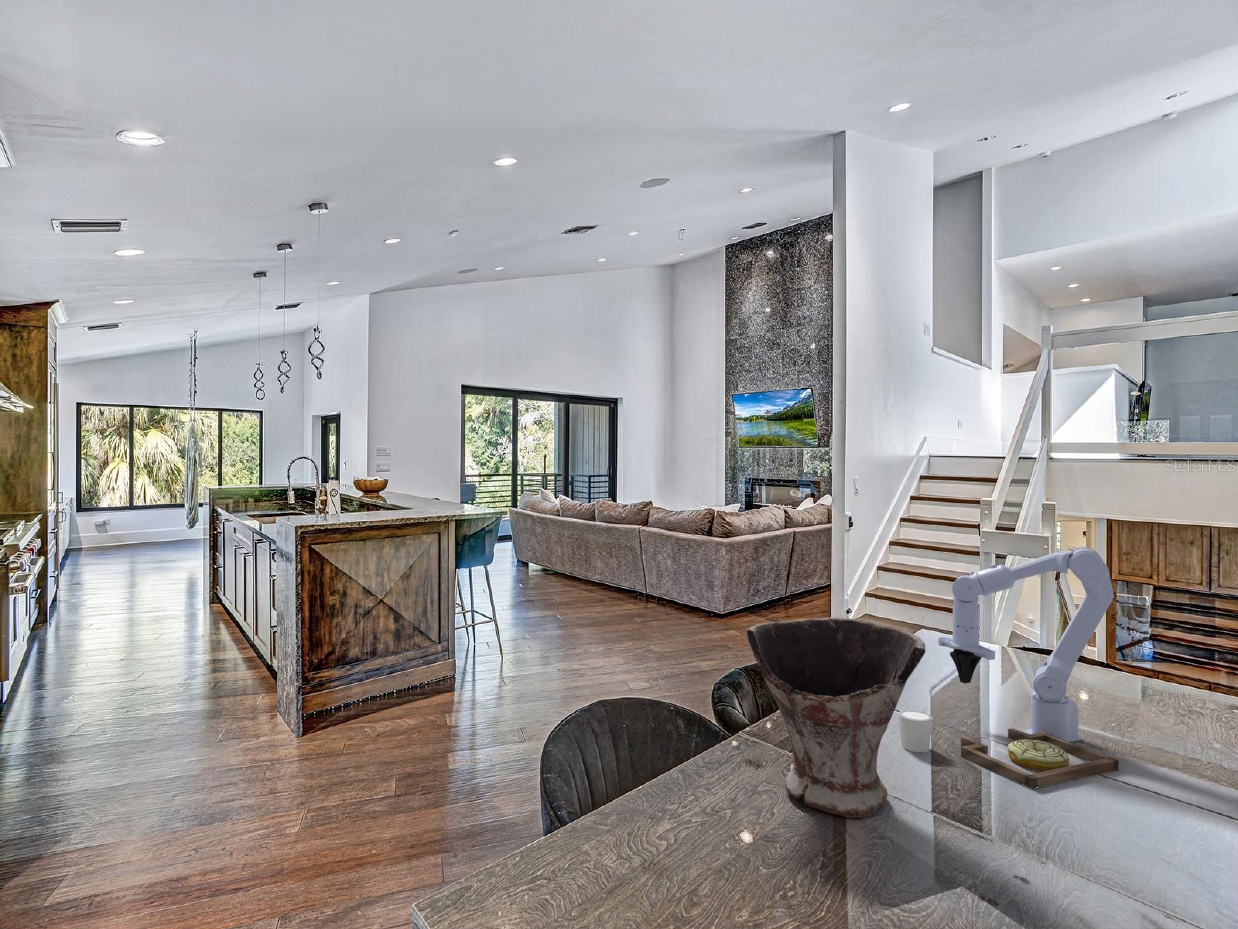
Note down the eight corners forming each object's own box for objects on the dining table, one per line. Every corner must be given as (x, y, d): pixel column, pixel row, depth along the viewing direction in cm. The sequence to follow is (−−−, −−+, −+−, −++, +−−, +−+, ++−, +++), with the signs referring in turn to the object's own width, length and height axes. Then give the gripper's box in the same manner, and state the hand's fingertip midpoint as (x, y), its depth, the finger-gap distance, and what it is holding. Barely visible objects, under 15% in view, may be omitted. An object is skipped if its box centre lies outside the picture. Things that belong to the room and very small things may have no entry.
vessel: (728, 771, 134) (730, 618, 134) (835, 751, 144) (837, 610, 145) (830, 848, 106) (833, 656, 107) (954, 816, 117) (955, 642, 117)
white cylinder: (936, 755, 143) (936, 722, 143) (901, 752, 144) (902, 719, 144) (928, 743, 150) (928, 711, 150) (895, 740, 151) (895, 708, 151)
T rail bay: (945, 749, 146) (945, 739, 146) (1026, 734, 156) (1026, 725, 156) (1032, 789, 128) (1032, 778, 128) (1118, 770, 137) (1118, 760, 137)
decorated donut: (1001, 751, 146) (1001, 733, 147) (1058, 757, 144) (1058, 739, 144) (1015, 770, 136) (1015, 752, 137) (1076, 778, 134) (1076, 758, 134)
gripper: (929, 620, 169) (928, 675, 169) (979, 633, 156) (979, 693, 155) (950, 619, 172) (949, 672, 171) (1001, 631, 158) (1001, 690, 158)
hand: (965, 682), depth 164 cm, fingers closed
